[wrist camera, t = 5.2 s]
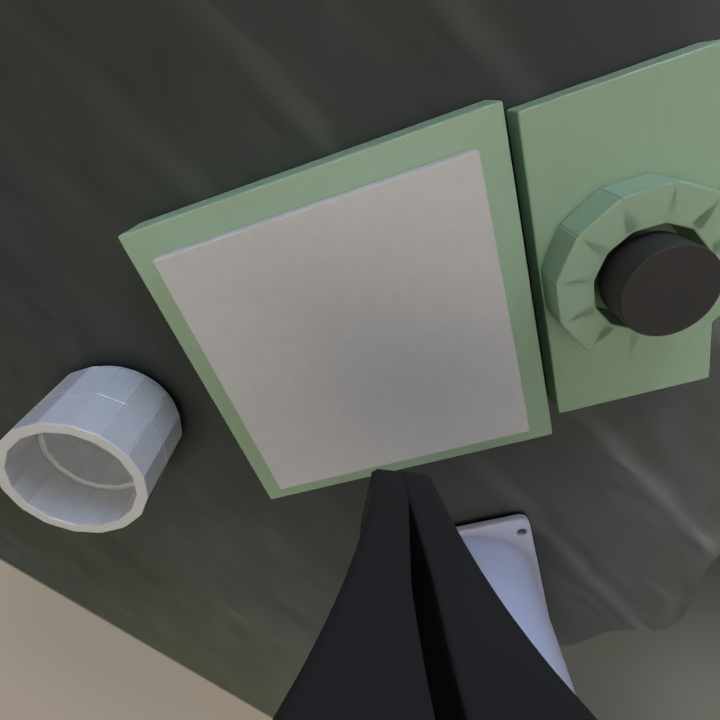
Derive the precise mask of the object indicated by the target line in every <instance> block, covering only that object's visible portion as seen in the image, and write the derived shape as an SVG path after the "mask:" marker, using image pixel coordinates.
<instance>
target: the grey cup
mask: <svg viewBox="0 0 720 720" xmlns="http://www.w3.org/2000/svg"><path fill="white" fill-rule="evenodd" d="M181 436H182V428H181V421H180V415H179V413H178V410H177V407H176V405H175V403H174V401H173V399H172V398H171V397H170V395H169V394H168V393H167V392H166V391H165V389H164V388H163V387H161V386H160V385H159V384H158V383H157V382H155V381H154V380H152V379H151V378H149V377H148V376H146V375H144V374H142V373H140V372H137V371H135V370H132V369H129V368H124V367H119V366H93V367H89V368H86V369H82V370H79V371H76V372H73V373H71V374H69V375H68V376H67V377H66V378H65V379H64V380H62V381H61V382H60V383H59V384H58V385H57V386H56V387H55V388H54V389H53V390H52V391H51V392H50V393H49V394H48V395H47V396H46V397H45V398H44V399H43V400H41V401H40V402H39V403H38V404H37V405H36V406H35V407H34V408H33V409H32V410H31V411H30V412H29V413H28V414H27V415H26V416H25V417H24V418H23V419H22V420H21V421H19V422H18V423H17V424H16V425H15V426H14V427H13V428H12V429H11V430H10V431H9V432H8V433H7V434H6V435H5V436H4V437H3V438H2V439H1V440H0V487H1V488H2V490H3V491H4V492H5V493H6V494H7V495H8V496H9V497H10V498H11V499H12V500H13V501H14V502H15V503H16V504H17V505H18V506H19V507H21V509H23V510H25V511H27V512H28V513H30V514H32V515H33V516H35V517H37V518H38V519H40V520H42V521H44V522H46V523H48V524H52V525H55V526H58V527H61V528H65V529H68V530H71V531H77V532H94V533H103V532H107V531H111V530H116V529H120V528H124V527H126V526H127V525H128V524H130V523H131V522H132V521H134V520H135V519H136V518H138V517H139V516H141V514H142V513H143V511H144V509H145V507H146V505H147V503H148V502H149V500H150V498H151V496H152V494H153V492H154V490H155V488H156V486H157V485H158V483H159V481H160V479H161V477H162V475H163V473H164V471H165V469H166V468H167V466H168V464H169V462H170V460H171V458H172V456H173V454H174V452H175V451H176V448H177V446H178V443H179V441H180V438H181Z"/></svg>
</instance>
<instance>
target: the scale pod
mask: <svg viewBox="0 0 720 720" xmlns="http://www.w3.org/2000/svg"><path fill="white" fill-rule="evenodd" d="M506 116H507V122H508V129H509V136H510V142H511V149H512V156H513V163H514V169H515V176H516V183H517V189H518V196H519V203H520V209H521V216H522V223H523V229H524V236H525V243H526V249H527V256H528V263H529V270H530V276H531V283H532V290H533V296H534V303H535V310H536V316H537V323H538V330H539V336H540V343H541V350H542V357H543V363H544V370H545V377H546V383H547V390H548V396H549V397H550V399H551V401H552V402H553V404H554V406H555V407H556V409H557V411H558V412H559V413H562V412H566V411H571V410H575V409H579V408H583V407H587V406H592V405H596V404H600V403H604V402H608V401H612V400H617V399H621V398H625V397H629V396H633V395H638V394H642V393H646V392H650V391H654V390H658V389H663V388H667V387H671V386H675V385H679V384H684V383H688V382H692V381H696V380H700V379H705V378H708V377H709V364H710V347H711V329H712V322H713V321H714V320H716V319H717V317H719V315H720V295H719V297H718V299H717V301H716V302H715V304H714V305H713V307H712V308H711V309H710V310H709V312H708V313H707V314H706V315H705V316H704V317H702V318H701V319H700V320H699V321H698V322H696V323H695V324H693V325H692V326H690V327H688V328H686V329H684V330H682V331H680V332H677V333H674V334H671V335H666V336H646V335H642V334H639V333H637V332H635V331H633V330H632V329H630V328H629V327H628V326H627V325H626V324H625V323H624V322H623V321H621V320H620V319H619V318H618V317H617V316H616V315H615V314H614V313H612V312H611V311H610V310H609V309H608V308H607V307H606V306H605V304H604V303H603V301H602V299H601V296H600V291H599V282H600V277H601V273H602V270H603V268H604V266H605V264H606V262H607V261H608V259H609V258H610V257H611V255H612V254H613V253H614V252H615V251H616V250H617V249H618V248H619V247H620V246H622V245H623V244H624V243H626V242H627V241H629V240H630V239H632V238H634V237H636V236H639V235H641V234H644V233H648V232H654V231H667V232H672V233H675V234H678V235H680V236H682V237H684V238H686V239H688V240H691V241H693V242H695V243H697V244H699V245H701V246H704V247H706V248H708V249H710V250H711V251H712V252H714V253H715V254H716V256H717V257H718V258H719V260H720V190H719V187H720V40H714V41H707V42H700V43H696V44H693V45H690V46H687V47H684V48H681V49H679V50H676V51H673V52H670V53H667V54H664V55H661V56H659V57H656V58H653V59H650V60H647V61H644V62H641V63H639V64H636V65H633V66H630V67H627V68H624V69H621V70H619V71H616V72H613V73H610V74H607V75H604V76H601V77H599V78H596V79H593V80H590V81H587V82H584V83H581V84H579V85H576V86H573V87H570V88H567V89H564V90H561V91H559V92H556V93H553V94H550V95H547V96H544V97H542V98H539V99H536V100H533V101H530V102H527V103H524V104H522V105H519V106H516V107H513V108H510V109H508V110H507V111H506Z"/></svg>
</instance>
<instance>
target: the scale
mask: <svg viewBox="0 0 720 720" xmlns="http://www.w3.org/2000/svg"><path fill="white" fill-rule="evenodd" d="M118 238H119V240H120V242H121V244H122V245H123V247H124V249H125V251H126V252H127V254H128V256H129V257H130V259H131V261H132V263H133V264H134V266H135V268H136V269H137V271H138V273H139V274H140V276H141V278H142V280H143V281H144V283H145V285H146V286H147V288H148V290H149V292H150V293H151V295H152V297H153V298H154V300H155V302H156V304H157V305H158V307H159V309H160V310H161V312H162V314H163V315H164V317H165V319H166V321H167V322H168V324H169V326H170V327H171V329H172V331H173V333H174V334H175V336H176V338H177V339H178V341H179V343H180V344H181V346H182V348H183V350H184V351H185V353H186V355H187V356H188V358H189V360H190V362H191V363H192V365H193V367H194V368H195V370H196V372H197V374H198V375H199V377H200V379H201V380H202V382H203V384H204V385H205V387H206V389H207V391H208V392H209V394H210V396H211V397H212V399H213V401H214V403H215V404H216V406H217V408H218V409H219V411H220V413H221V414H222V416H223V418H224V420H225V421H226V423H227V425H228V426H229V428H230V430H231V432H232V433H233V435H234V437H235V438H236V440H237V442H238V444H239V445H240V447H241V449H242V450H243V452H244V454H245V455H246V457H247V459H248V461H249V462H250V464H251V466H252V467H253V469H254V471H255V473H256V474H257V476H258V478H259V479H260V481H261V483H262V484H263V486H264V488H265V490H266V491H267V493H268V495H269V496H270V498H271V499H275V498H279V497H283V496H288V495H292V494H296V493H300V492H305V491H309V490H313V489H318V488H322V487H326V486H331V485H335V484H339V483H343V482H348V481H352V480H356V479H361V478H365V477H369V476H371V473H372V472H373V471H374V470H376V469H382V470H391V471H395V470H399V469H404V468H408V467H412V466H417V465H421V464H425V463H430V462H434V461H438V460H442V459H447V458H451V457H455V456H460V455H464V454H468V453H473V452H477V451H481V450H485V449H490V448H494V447H498V446H503V445H507V444H511V443H516V442H520V441H524V440H528V439H533V438H537V437H541V436H546V435H550V434H552V426H551V420H550V413H549V407H548V400H547V393H546V387H545V380H544V373H543V367H542V360H541V354H540V347H539V340H538V334H537V327H536V321H535V314H534V307H533V301H532V294H531V288H530V281H529V274H528V268H527V261H526V255H525V248H524V241H523V235H522V228H521V222H520V215H519V208H518V202H517V195H516V188H515V182H514V175H513V169H512V162H511V155H510V149H509V142H508V136H507V129H506V122H505V116H504V109H503V103H502V101H494V100H483V101H481V102H478V103H475V104H472V105H469V106H467V107H464V108H461V109H458V110H455V111H453V112H450V113H447V114H444V115H441V116H438V117H436V118H433V119H430V120H427V121H424V122H422V123H419V124H416V125H413V126H410V127H408V128H405V129H402V130H399V131H396V132H394V133H391V134H388V135H385V136H382V137H380V138H377V139H374V140H371V141H368V142H366V143H363V144H360V145H357V146H354V147H352V148H349V149H346V150H343V151H340V152H337V153H335V154H332V155H329V156H326V157H323V158H321V159H318V160H315V161H312V162H309V163H307V164H304V165H301V166H298V167H295V168H293V169H290V170H287V171H284V172H281V173H279V174H276V175H273V176H270V177H267V178H265V179H262V180H259V181H256V182H253V183H251V184H248V185H245V186H242V187H239V188H236V189H234V190H231V191H228V192H225V193H222V194H220V195H217V196H214V197H211V198H208V199H206V200H203V201H200V202H197V203H194V204H192V205H189V206H186V207H183V208H180V209H178V210H175V211H172V212H169V213H166V214H164V215H161V216H158V217H155V218H152V219H149V220H147V221H144V222H141V223H140V224H138V225H136V226H135V227H133V228H131V229H130V230H128V231H126V232H124V233H123V234H121V235H119V237H118Z"/></svg>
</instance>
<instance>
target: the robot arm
mask: <svg viewBox="0 0 720 720" xmlns="http://www.w3.org/2000/svg"><path fill="white" fill-rule="evenodd" d="M548 615H549V614H548V609H547V604H546V600H545V595H544V590H543V585H542V580H541V576H540V571H539V566H538V561H537V556H536V552H535V547H534V542H533V537H532V532H531V527H530V523H529V520H528V518H527V516H525V515H522V514H516V515H511V516H506V517H502V518H497V519H492V520H487V521H482V522H477V523H473V524H468V525H463V526H458V527H455V525H454V523H453V521H452V519H451V517H450V515H449V513H448V512H447V510H446V508H445V506H444V504H443V502H442V500H441V498H440V496H439V494H438V492H437V490H436V487H435V485H434V483H433V481H432V479H431V478H430V476H429V475H427V474H418V473H409V472H400V471H391V470H382V469H376V470H374V471H373V472H372V473H371V478H370V483H369V488H368V493H367V498H366V502H365V507H364V512H363V517H362V522H361V532H360V539H359V543H358V545H357V548H356V551H355V554H354V556H353V559H352V562H351V564H350V567H349V570H348V572H347V575H346V577H345V580H344V582H343V585H342V587H341V589H340V592H339V594H338V596H337V599H336V601H335V603H334V605H333V607H332V609H331V612H330V614H329V616H328V618H327V620H326V622H325V624H324V626H323V628H322V630H321V632H320V634H319V636H318V638H317V640H316V642H315V644H314V646H313V648H312V650H311V652H310V654H309V656H308V658H307V660H306V662H305V663H304V665H303V667H302V669H301V671H300V673H299V674H298V676H297V678H296V680H295V681H294V683H293V685H292V687H291V688H290V690H289V692H288V694H287V695H286V697H285V699H284V701H283V702H282V704H281V706H280V708H279V709H278V711H277V713H276V715H275V716H274V718H273V720H597V719H596V718H595V717H594V715H593V714H592V713H591V712H590V711H589V710H588V709H587V707H586V706H585V705H584V704H583V703H582V702H581V700H580V699H579V698H578V697H577V696H576V693H575V691H574V688H573V685H572V682H571V679H570V676H569V673H568V670H567V667H566V665H565V662H564V659H563V656H562V653H561V650H560V647H559V644H558V642H557V639H556V636H555V633H554V630H553V627H552V624H551V621H550V619H549V616H548Z"/></svg>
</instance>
